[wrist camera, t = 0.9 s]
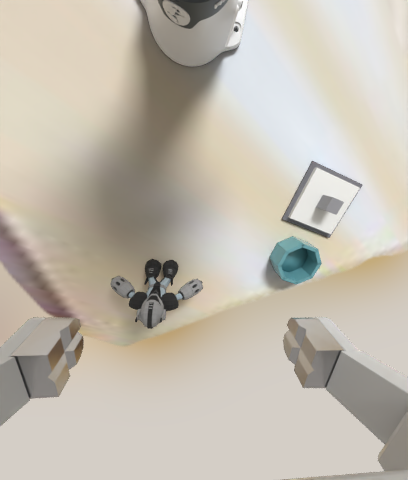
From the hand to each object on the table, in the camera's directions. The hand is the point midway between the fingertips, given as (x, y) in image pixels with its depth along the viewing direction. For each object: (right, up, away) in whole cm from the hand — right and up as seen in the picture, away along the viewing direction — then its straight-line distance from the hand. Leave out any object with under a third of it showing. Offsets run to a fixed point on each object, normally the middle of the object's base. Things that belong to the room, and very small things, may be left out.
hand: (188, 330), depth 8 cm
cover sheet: (+28, +12, +40) cm, 51 cm away
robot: (-10, -3, +44) cm, 45 cm away
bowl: (+23, -1, +45) cm, 51 cm away
